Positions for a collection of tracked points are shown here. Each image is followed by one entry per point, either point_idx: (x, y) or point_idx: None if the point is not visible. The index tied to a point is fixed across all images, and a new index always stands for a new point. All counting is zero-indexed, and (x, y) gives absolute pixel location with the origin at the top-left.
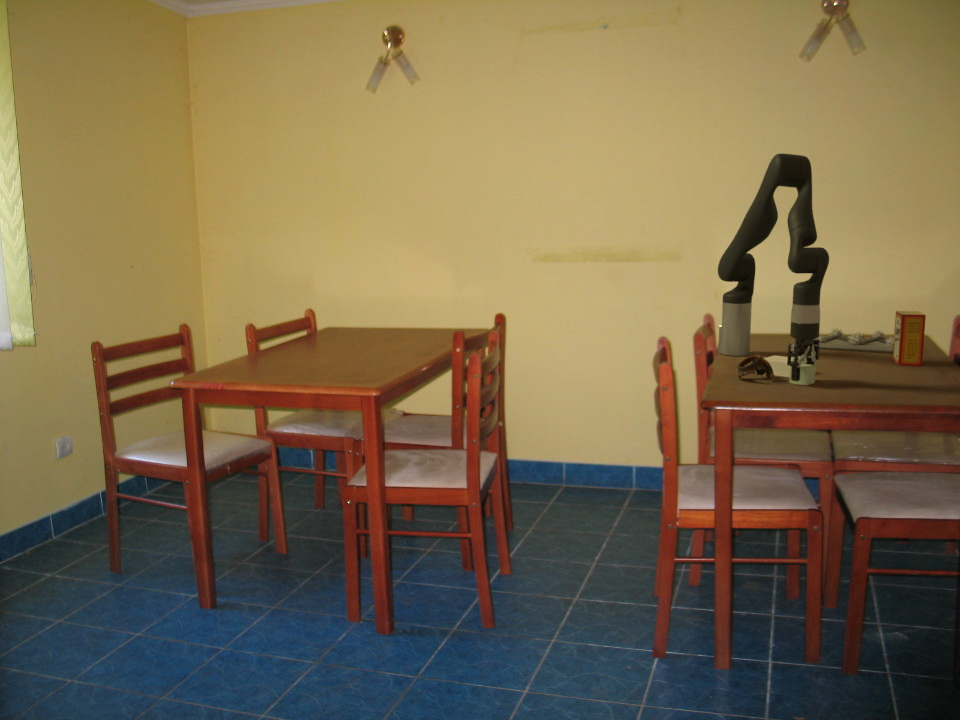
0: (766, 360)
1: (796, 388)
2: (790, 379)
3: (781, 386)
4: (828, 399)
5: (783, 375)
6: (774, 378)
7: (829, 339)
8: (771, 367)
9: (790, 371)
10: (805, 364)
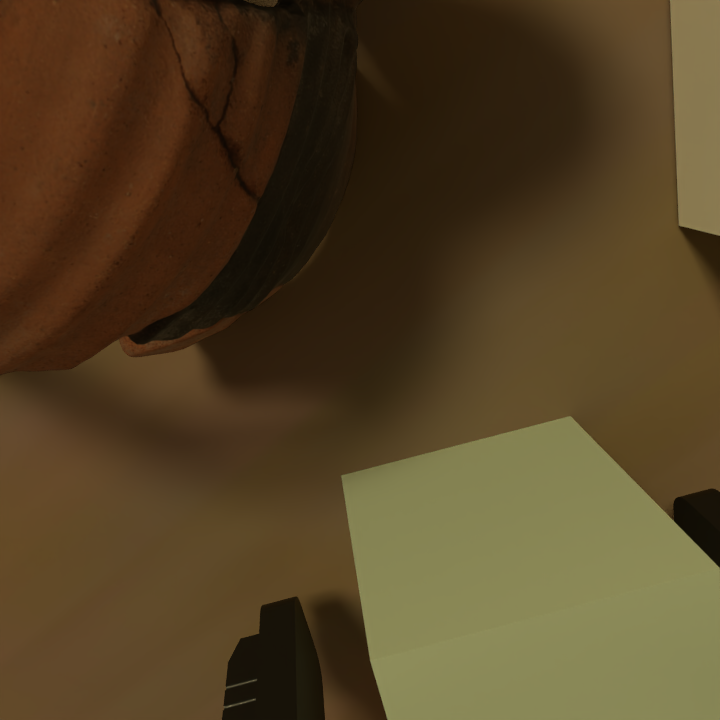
0: (92, 219)
1: (148, 712)
2: (349, 512)
3: (73, 573)
4: None
5: (682, 117)
6: (270, 293)
7: None
8: (177, 333)
9: (361, 585)
10: (676, 703)
